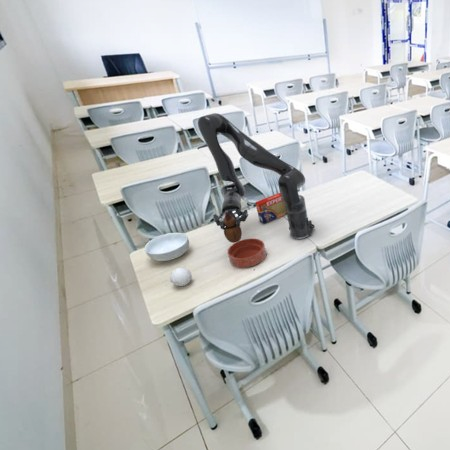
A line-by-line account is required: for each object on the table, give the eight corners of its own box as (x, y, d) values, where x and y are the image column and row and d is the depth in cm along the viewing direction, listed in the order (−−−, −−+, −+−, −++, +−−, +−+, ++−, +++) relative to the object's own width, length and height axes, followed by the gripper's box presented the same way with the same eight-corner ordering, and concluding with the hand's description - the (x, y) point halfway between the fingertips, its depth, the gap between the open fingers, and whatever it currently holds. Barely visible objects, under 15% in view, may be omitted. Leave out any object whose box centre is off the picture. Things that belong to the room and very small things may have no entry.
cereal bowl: (182, 266, 152) (176, 253, 149) (142, 267, 152) (136, 254, 148) (198, 243, 167) (193, 231, 163) (162, 245, 166) (156, 232, 162)
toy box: (263, 224, 182) (259, 204, 176) (259, 221, 184) (255, 202, 178) (293, 211, 193) (290, 192, 187) (289, 209, 195) (286, 190, 189)
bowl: (266, 245, 166) (263, 235, 163) (267, 264, 154) (264, 254, 151) (231, 251, 161) (228, 242, 158) (229, 272, 149) (226, 261, 146)
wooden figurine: (237, 245, 147) (227, 214, 138) (224, 243, 148) (214, 213, 139) (246, 236, 152) (237, 206, 144) (234, 234, 153) (224, 205, 145)
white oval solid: (189, 275, 147) (183, 261, 143) (197, 283, 143) (191, 269, 139) (163, 287, 141) (156, 273, 137) (171, 296, 137) (164, 281, 133)
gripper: (211, 202, 152) (208, 222, 139) (246, 197, 157) (246, 215, 143) (216, 217, 157) (213, 237, 143) (250, 211, 161) (250, 231, 147)
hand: (230, 226), depth 143 cm, fingers closed on wooden figurine, 4 cm apart
